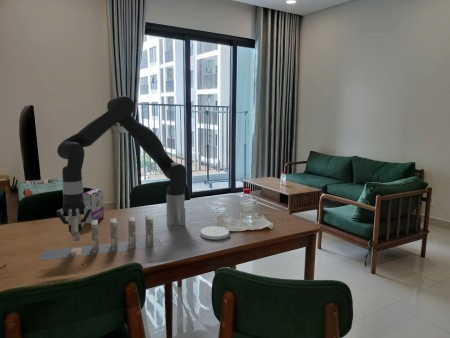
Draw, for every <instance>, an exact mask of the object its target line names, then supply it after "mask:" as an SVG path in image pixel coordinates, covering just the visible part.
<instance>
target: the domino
mask: <svg viewBox="0 0 450 338" xmlns="http://www.w3.org/2000/svg"><path fill="white" fill-rule="evenodd" d="M71 233H72V234H71ZM70 234H71V237H72V241H73V242H80V238H81V236H80V234H81V232H80V233H79V232H78V216H72V217H71V232H70Z"/></svg>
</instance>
